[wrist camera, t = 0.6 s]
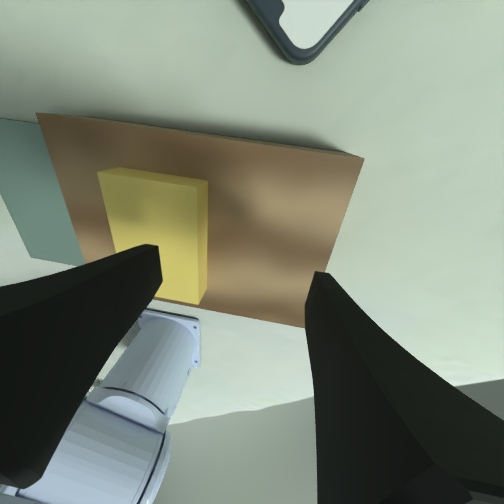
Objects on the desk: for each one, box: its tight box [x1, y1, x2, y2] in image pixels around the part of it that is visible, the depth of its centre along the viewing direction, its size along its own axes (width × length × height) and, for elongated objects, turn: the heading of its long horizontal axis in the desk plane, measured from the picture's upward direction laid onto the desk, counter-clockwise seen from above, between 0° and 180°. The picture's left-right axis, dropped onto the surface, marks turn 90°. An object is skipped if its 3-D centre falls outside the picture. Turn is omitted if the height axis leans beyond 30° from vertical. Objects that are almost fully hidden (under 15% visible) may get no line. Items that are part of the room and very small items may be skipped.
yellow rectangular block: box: [97, 167, 208, 305], centre depth 15 cm, size 9×6×2 cm, turn 173°
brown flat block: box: [36, 113, 364, 328], centre depth 18 cm, size 14×20×4 cm
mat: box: [0, 118, 85, 266], centre depth 21 cm, size 14×11×1 cm
